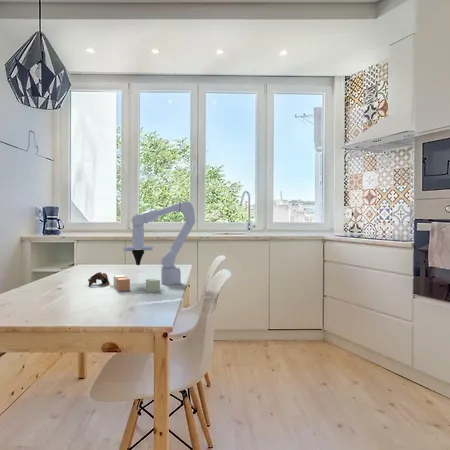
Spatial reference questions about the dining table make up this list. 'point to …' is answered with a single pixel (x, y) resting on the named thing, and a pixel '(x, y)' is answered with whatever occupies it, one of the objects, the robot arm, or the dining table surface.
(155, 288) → the sage cube
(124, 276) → the cream cube
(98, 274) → the dark brown arched piece
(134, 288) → the board
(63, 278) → the dining table surface
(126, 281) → the terracotta cube
